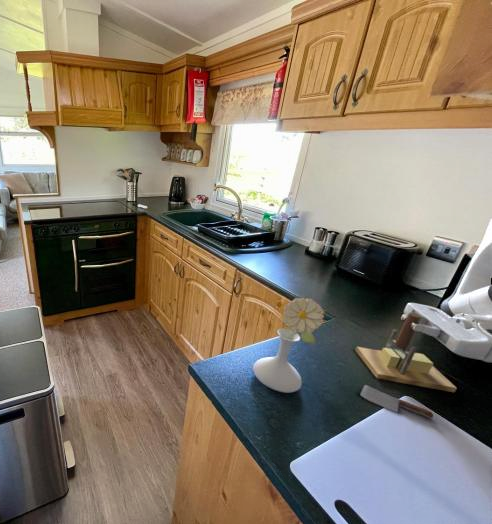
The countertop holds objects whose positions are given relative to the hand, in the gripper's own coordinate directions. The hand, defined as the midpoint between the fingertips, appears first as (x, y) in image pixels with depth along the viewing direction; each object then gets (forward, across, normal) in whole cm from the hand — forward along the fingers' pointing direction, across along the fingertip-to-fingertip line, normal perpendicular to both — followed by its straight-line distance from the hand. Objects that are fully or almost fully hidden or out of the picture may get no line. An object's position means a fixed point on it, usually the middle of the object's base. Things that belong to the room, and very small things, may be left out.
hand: (407, 322), depth 76 cm
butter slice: (0, 0, +14) cm, 14 cm away
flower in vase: (+33, +15, +15) cm, 39 cm away
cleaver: (+6, +16, +15) cm, 23 cm away
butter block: (-5, 0, +13) cm, 14 cm away
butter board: (-4, 0, +15) cm, 15 cm away
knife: (-1, 0, +13) cm, 14 cm away
